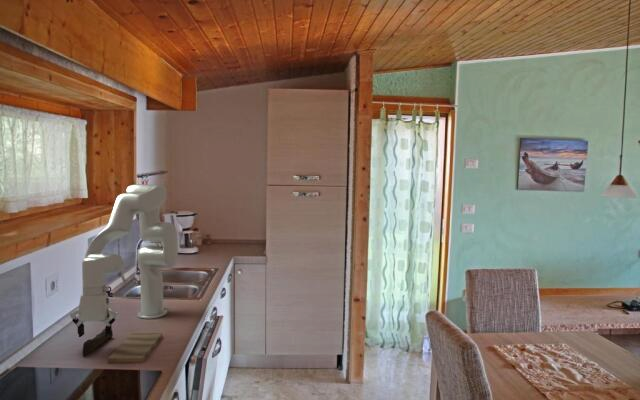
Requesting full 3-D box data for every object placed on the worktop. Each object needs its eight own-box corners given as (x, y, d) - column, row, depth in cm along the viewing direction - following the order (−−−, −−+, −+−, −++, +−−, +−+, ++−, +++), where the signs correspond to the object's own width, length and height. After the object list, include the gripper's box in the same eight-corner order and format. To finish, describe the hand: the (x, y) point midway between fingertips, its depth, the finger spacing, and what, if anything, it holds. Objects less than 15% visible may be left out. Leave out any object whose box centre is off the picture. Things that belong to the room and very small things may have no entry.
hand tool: (103, 337, 188) (103, 326, 188) (113, 338, 188) (112, 326, 187) (75, 357, 169) (75, 344, 169) (86, 357, 169) (86, 345, 169)
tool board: (131, 337, 188) (131, 333, 188) (162, 336, 189) (162, 333, 189) (107, 362, 164) (107, 358, 164) (143, 362, 165) (143, 357, 165)
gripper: (121, 288, 181) (122, 332, 182) (74, 288, 180) (75, 332, 181) (113, 293, 173) (114, 339, 174) (65, 293, 172) (66, 339, 173)
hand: (94, 335), depth 178 cm, fingers open, 9 cm apart
